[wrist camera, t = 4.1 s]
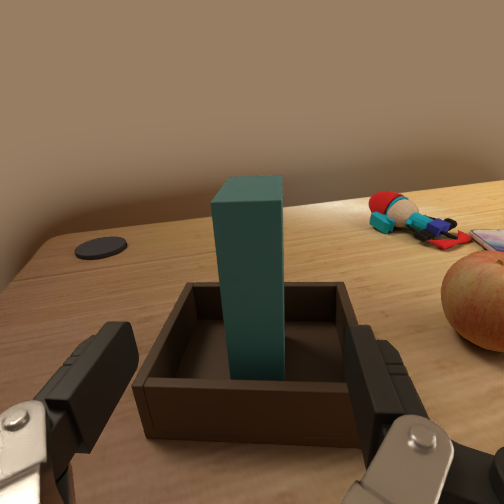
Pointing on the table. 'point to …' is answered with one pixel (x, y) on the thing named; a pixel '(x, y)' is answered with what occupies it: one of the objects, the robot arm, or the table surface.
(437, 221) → the toy figure
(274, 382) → the brown wooden tray
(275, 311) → the block
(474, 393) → the table surface
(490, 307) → the apple
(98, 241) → the coaster
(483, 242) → the smartphone
